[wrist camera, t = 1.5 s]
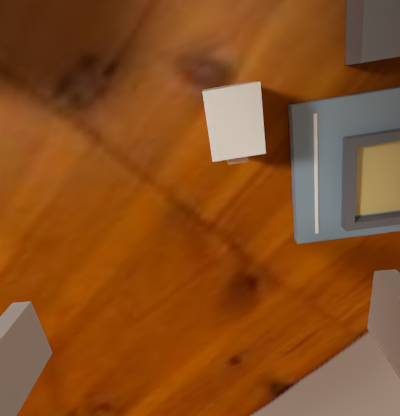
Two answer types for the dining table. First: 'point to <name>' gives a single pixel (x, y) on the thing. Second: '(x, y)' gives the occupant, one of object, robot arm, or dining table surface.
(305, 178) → the board
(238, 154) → the plug
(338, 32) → the dining table surface
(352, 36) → the grey push button box
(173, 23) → the dining table surface
